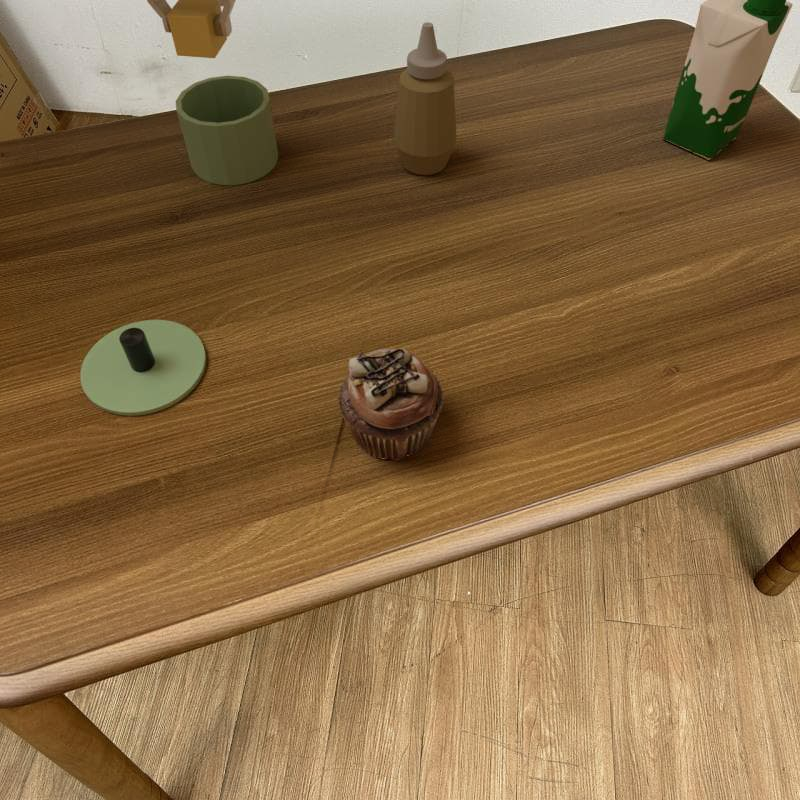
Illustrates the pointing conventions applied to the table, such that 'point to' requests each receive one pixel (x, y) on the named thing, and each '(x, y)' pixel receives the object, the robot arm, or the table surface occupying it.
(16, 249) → the table surface
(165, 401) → the lid
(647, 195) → the table surface
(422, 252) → the table surface
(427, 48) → the squeeze bottle
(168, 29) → the robot arm
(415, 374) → the cupcake
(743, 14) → the milk carton
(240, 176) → the tin
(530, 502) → the table surface
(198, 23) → the block
